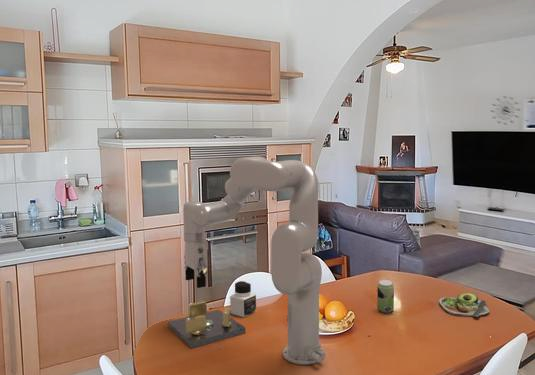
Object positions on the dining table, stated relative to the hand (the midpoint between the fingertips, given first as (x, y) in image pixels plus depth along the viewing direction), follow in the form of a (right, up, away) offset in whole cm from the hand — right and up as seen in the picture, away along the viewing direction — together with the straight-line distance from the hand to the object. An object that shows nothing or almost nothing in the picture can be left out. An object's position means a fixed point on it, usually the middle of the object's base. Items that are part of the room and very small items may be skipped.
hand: (195, 283), depth 165 cm
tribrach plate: (+4, -15, -4) cm, 17 cm away
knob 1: (+2, -14, -12) cm, 19 cm away
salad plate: (+102, -13, +12) cm, 103 cm away
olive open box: (+1, -13, +1) cm, 13 cm away
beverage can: (+71, -13, +10) cm, 73 cm away
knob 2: (+12, -13, -6) cm, 19 cm away
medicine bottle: (+17, -14, +11) cm, 24 cm away
